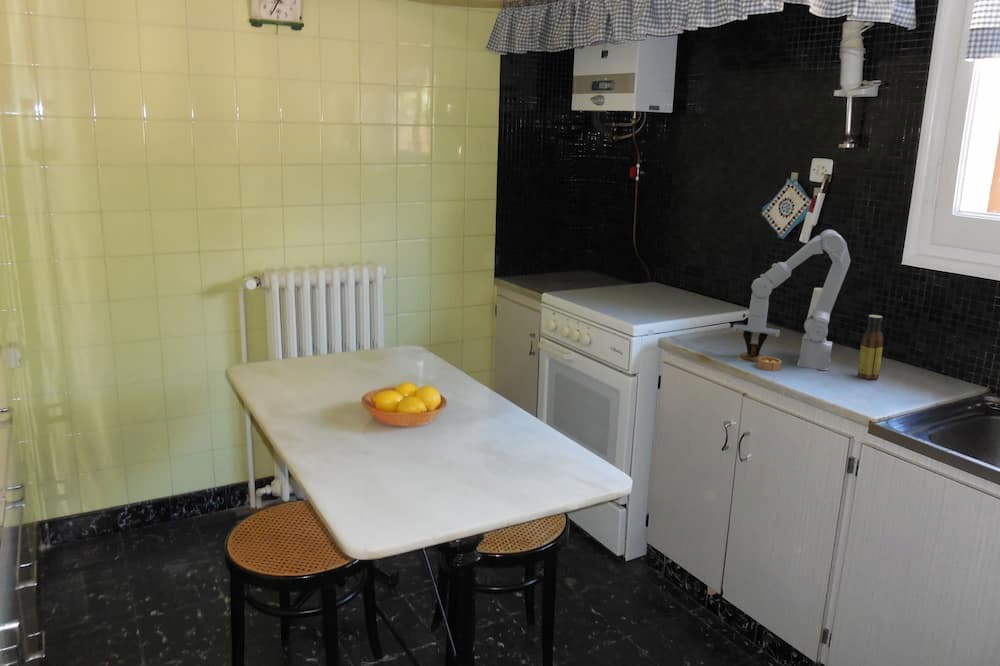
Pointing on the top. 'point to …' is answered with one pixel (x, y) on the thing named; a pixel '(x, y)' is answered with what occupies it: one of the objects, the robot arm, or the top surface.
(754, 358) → the lid
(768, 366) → the bowl
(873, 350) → the sauce bottle
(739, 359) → the mat
